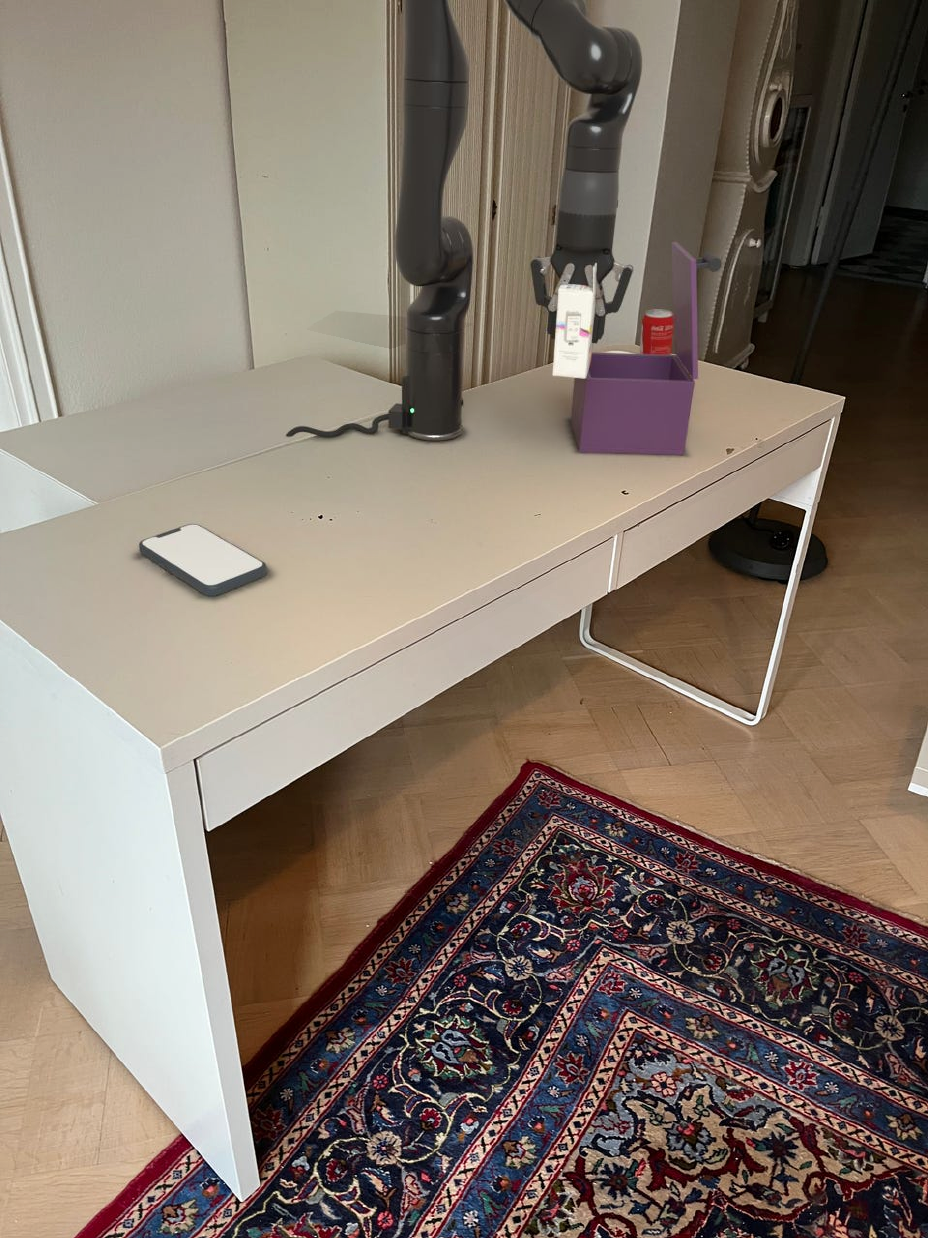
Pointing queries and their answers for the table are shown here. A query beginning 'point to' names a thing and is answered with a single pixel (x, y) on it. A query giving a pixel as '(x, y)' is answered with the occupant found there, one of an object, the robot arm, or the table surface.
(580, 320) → the ink cartridge box
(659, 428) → the box
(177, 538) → the smartphone
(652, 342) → the beverage can
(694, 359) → the lid
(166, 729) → the table surface
